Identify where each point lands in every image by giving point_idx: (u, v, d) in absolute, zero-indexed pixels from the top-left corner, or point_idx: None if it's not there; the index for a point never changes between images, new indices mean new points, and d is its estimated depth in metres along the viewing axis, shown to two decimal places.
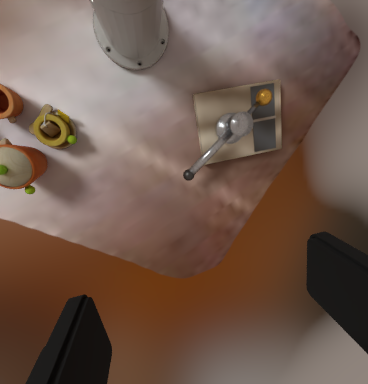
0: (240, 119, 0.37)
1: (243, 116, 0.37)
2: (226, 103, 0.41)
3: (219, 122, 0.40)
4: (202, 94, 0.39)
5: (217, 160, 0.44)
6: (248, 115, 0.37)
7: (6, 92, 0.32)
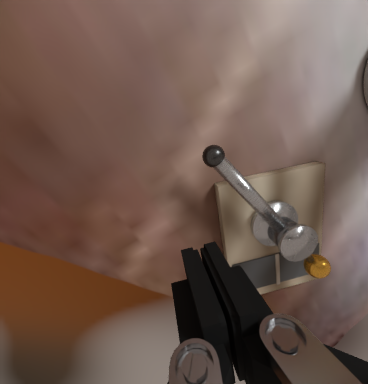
0: (307, 240, 0.22)
1: (310, 244, 0.23)
2: (304, 212, 0.27)
3: (287, 205, 0.25)
4: (322, 176, 0.26)
5: (223, 208, 0.25)
6: (310, 251, 0.23)
7: None
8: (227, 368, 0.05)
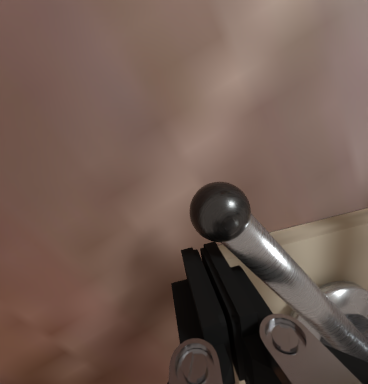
0: None
1: None
2: None
3: (364, 295, 0.12)
4: None
5: None
6: None
7: None
8: (227, 368, 0.05)
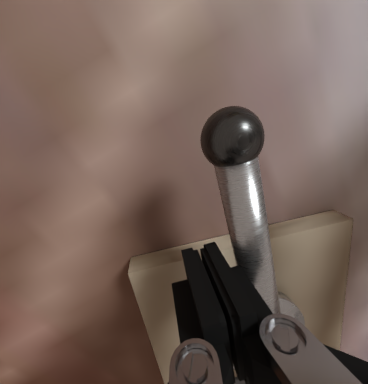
0: None
1: None
2: (310, 306, 0.14)
3: (297, 313, 0.13)
4: (346, 242, 0.13)
5: (146, 310, 0.12)
6: None
7: None
8: (227, 368, 0.05)
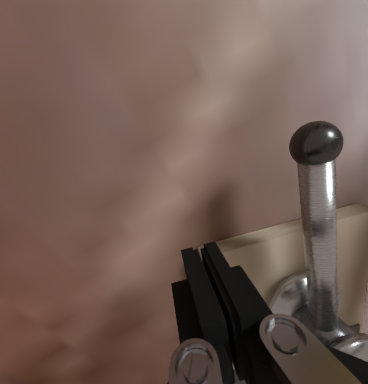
0: None
1: None
2: (341, 284, 0.17)
3: None
4: None
5: None
6: None
7: None
8: (227, 368, 0.05)
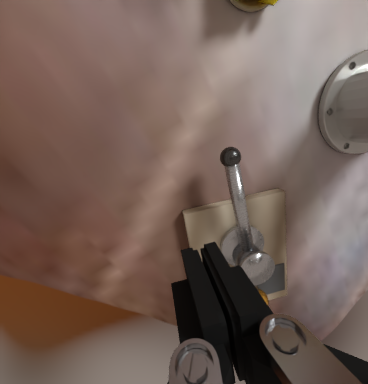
0: (264, 269, 0.24)
1: (265, 274, 0.25)
2: (268, 236, 0.29)
3: (260, 235, 0.27)
4: (283, 202, 0.28)
5: (190, 234, 0.27)
6: (262, 281, 0.25)
7: None
8: (227, 368, 0.05)
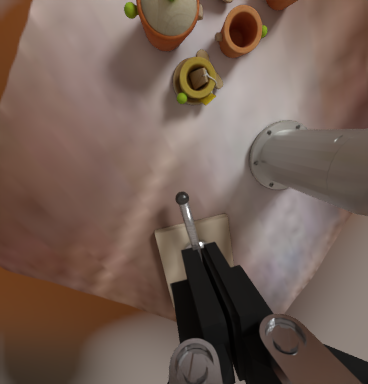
0: None
1: None
2: None
3: None
4: (227, 224, 0.39)
5: (160, 247, 0.38)
6: None
7: (246, 49, 0.29)
8: (227, 368, 0.05)
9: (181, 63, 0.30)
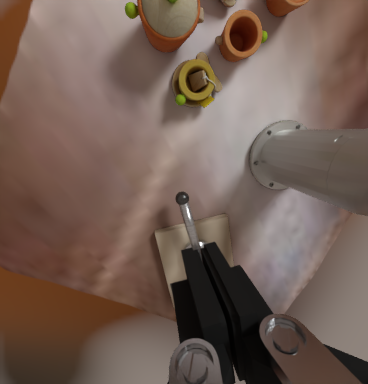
0: None
1: None
2: None
3: None
4: (227, 224, 0.39)
5: (160, 247, 0.38)
6: None
7: (246, 53, 0.29)
8: (227, 368, 0.05)
9: (181, 65, 0.31)
